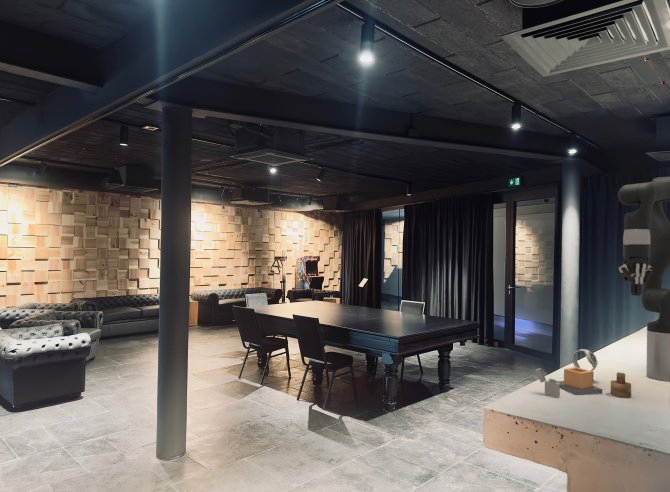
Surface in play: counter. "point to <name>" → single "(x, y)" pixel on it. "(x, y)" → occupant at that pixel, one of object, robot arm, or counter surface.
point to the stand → (621, 387)
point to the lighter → (549, 385)
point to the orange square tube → (578, 377)
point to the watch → (590, 358)
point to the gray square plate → (580, 391)
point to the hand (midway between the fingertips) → (636, 295)
